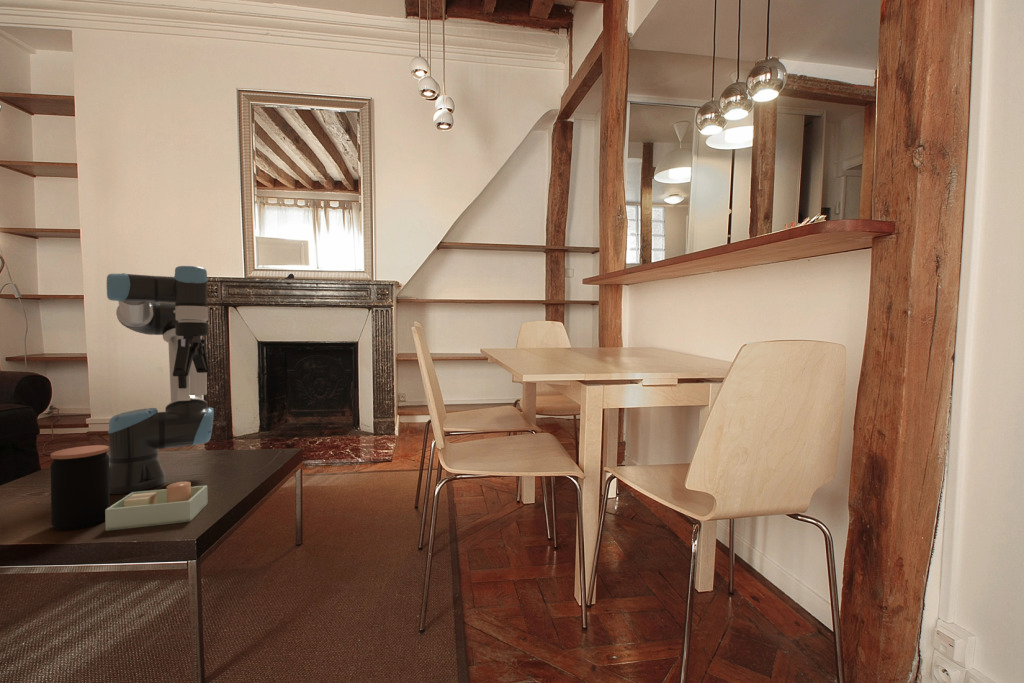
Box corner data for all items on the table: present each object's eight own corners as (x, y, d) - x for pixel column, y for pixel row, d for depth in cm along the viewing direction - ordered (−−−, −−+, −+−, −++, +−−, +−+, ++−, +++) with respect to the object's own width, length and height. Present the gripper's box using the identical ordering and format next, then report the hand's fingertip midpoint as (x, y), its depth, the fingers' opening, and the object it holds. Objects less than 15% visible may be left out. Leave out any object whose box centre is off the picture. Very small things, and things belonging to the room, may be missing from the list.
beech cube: (134, 513, 119) (133, 494, 119) (157, 511, 120) (156, 492, 120) (124, 521, 114) (123, 500, 114) (148, 518, 115) (148, 498, 115)
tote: (132, 511, 122) (132, 492, 122) (207, 503, 127) (207, 485, 127) (105, 530, 110) (105, 509, 110) (190, 521, 115) (190, 501, 115)
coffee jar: (105, 511, 122) (104, 443, 122) (114, 521, 116) (113, 449, 115) (48, 524, 114) (47, 451, 114) (54, 535, 107) (53, 457, 107)
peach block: (171, 509, 121) (170, 482, 121) (193, 506, 123) (192, 480, 123) (164, 516, 117) (163, 489, 116) (188, 513, 118) (187, 486, 118)
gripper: (192, 323, 141) (193, 393, 141) (156, 320, 117) (158, 404, 117) (220, 323, 143) (221, 392, 143) (191, 320, 120) (192, 402, 120)
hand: (193, 397), depth 130 cm, fingers open, 13 cm apart
